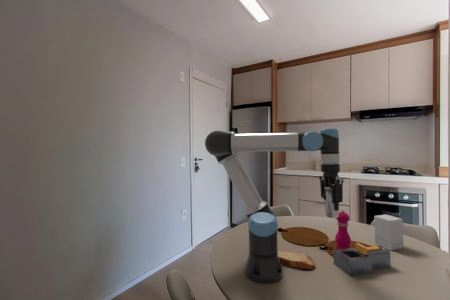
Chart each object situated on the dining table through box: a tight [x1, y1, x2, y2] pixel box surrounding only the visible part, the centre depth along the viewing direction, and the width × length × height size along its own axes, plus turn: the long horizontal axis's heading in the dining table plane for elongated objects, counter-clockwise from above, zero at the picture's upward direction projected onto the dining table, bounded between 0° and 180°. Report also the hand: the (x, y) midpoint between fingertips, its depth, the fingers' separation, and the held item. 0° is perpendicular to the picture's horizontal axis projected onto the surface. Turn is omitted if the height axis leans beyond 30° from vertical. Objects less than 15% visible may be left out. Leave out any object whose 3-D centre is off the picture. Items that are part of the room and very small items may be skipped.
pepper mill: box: [334, 208, 352, 250], centre depth 113 cm, size 7×7×20 cm
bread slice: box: [278, 250, 317, 270], centre depth 101 cm, size 18×18×4 cm
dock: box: [333, 245, 391, 277], centre depth 96 cm, size 22×10×7 cm, turn 100°
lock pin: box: [355, 242, 380, 255], centre depth 96 cm, size 9×5×3 cm, turn 100°
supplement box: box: [373, 214, 404, 251], centre depth 115 cm, size 9×9×15 cm
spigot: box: [325, 187, 333, 219], centre depth 99 cm, size 5×5×13 cm
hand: (331, 215), depth 99 cm, fingers closed on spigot, 4 cm apart
